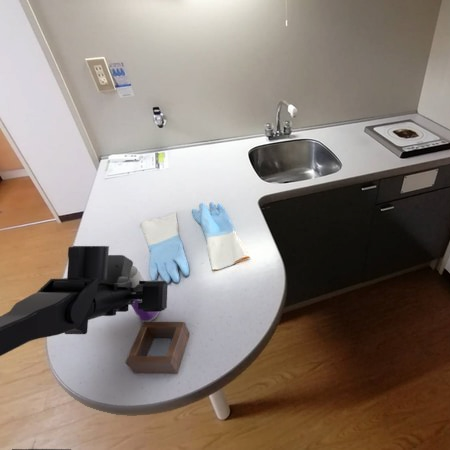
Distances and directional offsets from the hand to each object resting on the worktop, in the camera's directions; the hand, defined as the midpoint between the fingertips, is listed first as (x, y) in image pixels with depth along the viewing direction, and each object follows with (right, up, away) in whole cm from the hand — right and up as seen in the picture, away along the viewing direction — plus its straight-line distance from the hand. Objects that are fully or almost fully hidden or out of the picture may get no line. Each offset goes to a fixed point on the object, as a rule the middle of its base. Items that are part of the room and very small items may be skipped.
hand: (141, 291), depth 72 cm
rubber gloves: (+3, +11, +25) cm, 27 cm away
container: (0, -7, +4) cm, 7 cm away
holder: (+6, -13, -3) cm, 15 cm away
